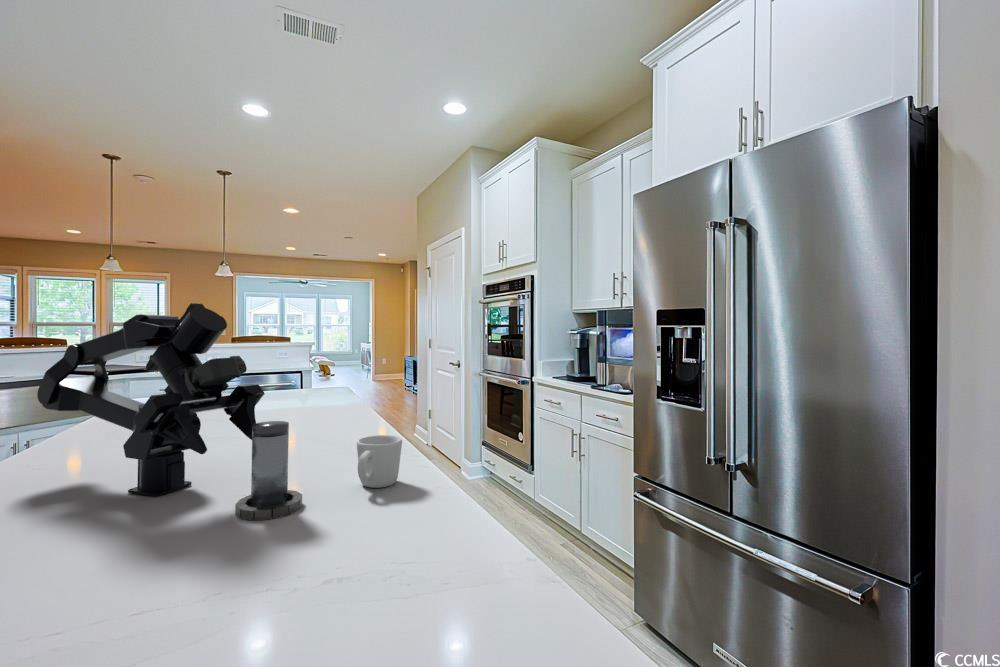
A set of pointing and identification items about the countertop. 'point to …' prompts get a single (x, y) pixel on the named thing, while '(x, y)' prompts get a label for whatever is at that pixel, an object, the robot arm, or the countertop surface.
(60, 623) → the countertop surface
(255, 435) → the dark grey metallic cylinder
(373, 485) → the cup
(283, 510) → the ring
